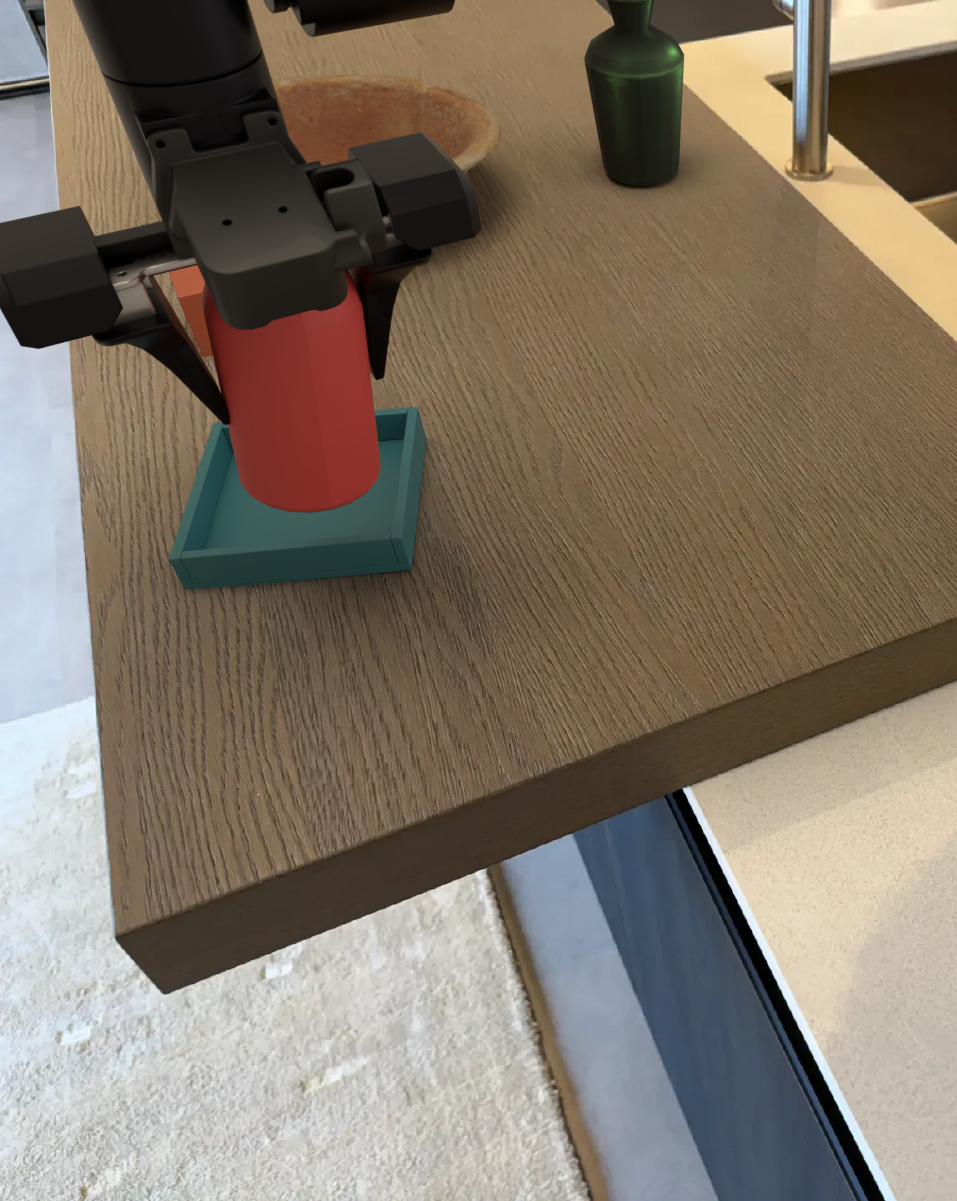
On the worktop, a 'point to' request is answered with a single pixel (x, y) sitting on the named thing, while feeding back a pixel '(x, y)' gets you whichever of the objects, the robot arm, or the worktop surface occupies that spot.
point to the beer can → (299, 405)
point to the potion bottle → (636, 95)
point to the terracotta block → (192, 304)
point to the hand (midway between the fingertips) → (303, 397)
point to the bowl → (382, 116)
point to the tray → (301, 519)
